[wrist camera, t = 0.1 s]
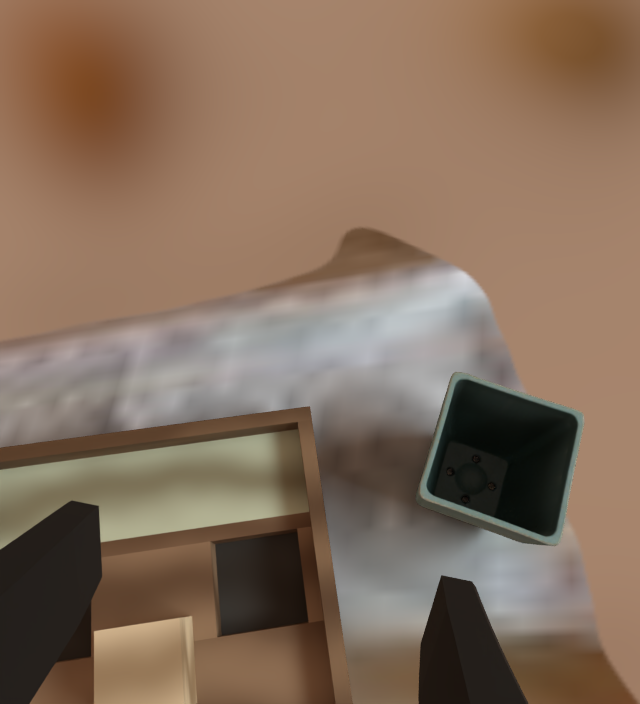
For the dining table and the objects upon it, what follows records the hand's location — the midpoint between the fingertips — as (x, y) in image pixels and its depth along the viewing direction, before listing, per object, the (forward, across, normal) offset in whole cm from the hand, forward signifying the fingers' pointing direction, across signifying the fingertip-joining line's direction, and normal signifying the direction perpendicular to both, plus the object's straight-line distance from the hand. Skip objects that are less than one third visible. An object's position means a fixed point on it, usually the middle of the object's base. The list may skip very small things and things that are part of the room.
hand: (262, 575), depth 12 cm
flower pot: (+29, -11, +18) cm, 36 cm away
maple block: (+15, +8, +26) cm, 31 cm away
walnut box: (+18, +9, +27) cm, 33 cm away
